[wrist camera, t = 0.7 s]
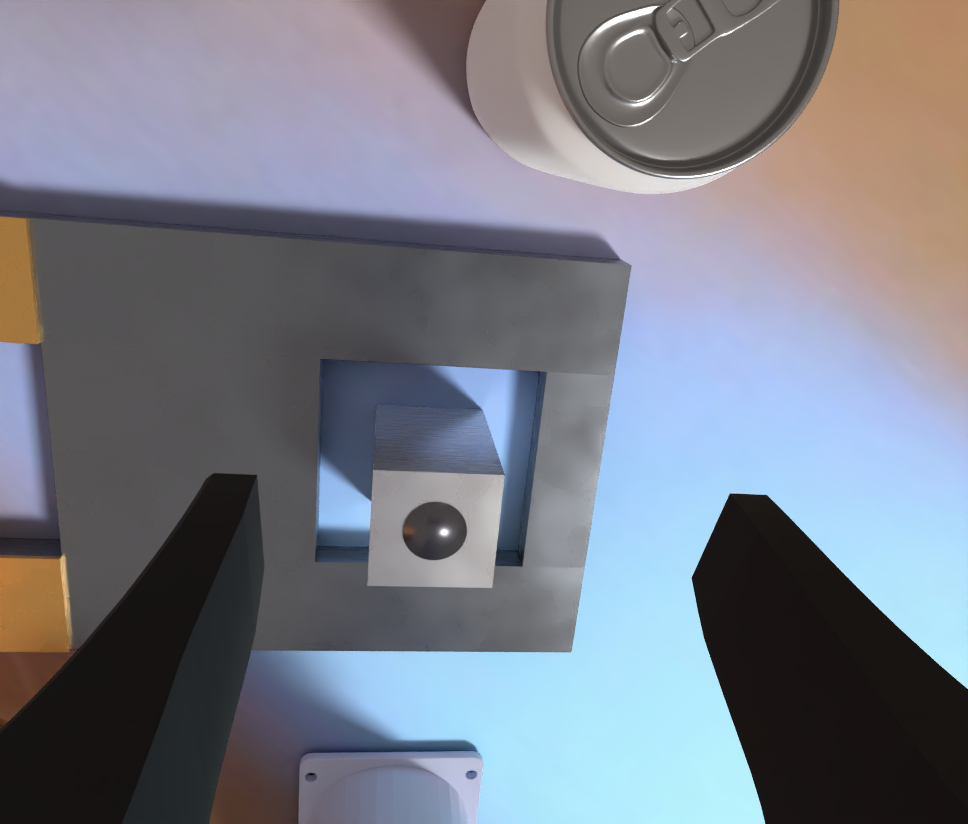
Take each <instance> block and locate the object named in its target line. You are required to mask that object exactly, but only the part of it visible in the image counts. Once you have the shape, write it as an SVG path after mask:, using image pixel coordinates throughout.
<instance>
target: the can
mask: <svg viewBox="0 0 968 824" xmlns="http://www.w3.org/2000/svg"><path fill="white" fill-rule="evenodd" d="M838 14H839V0H486V2H485V3H484V5H483V7H482V9H481V11H480V12H479V14H478V16H477V19H476V21H475V24H474V26H473V29H472V32H471V36H470V40H469V44H468V50H467V60H466V76H467V85H468V91H469V96H470V101H471V104H472V107H473V110H474V113H475V115H476V117H477V119H478V121H479V122H480V124H481V126H482V127H483V129H484V130H485V131H486V133H487V134H488V135H489V136H490V138H491V139H492V140H493V141H494V142H495V143H496V144H497V145H498V146H499V147H500V148H501V149H502V150H503V151H505V152H506V153H507V154H508V155H509V156H511V157H512V158H514V159H515V160H517V161H518V162H520V163H522V164H524V165H526V166H528V167H531V168H533V169H536V170H539V171H543V172H546V173H550V174H553V175H557V176H561V177H565V178H568V179H572V180H576V181H580V182H584V183H588V184H592V185H596V186H600V187H605V188H609V189H614V190H618V191H624V192H631V193H639V194H663V193H672V192H678V191H683V190H688V189H691V188H695V187H698V186H701V185H704V184H706V183H709V182H711V181H713V180H715V179H717V178H720V177H721V176H723V175H725V174H727V173H728V172H730V171H732V170H733V169H735V168H736V167H738V166H740V165H742V164H744V163H746V162H747V161H749V160H751V159H753V158H754V157H756V156H757V155H759V154H760V153H762V152H763V151H764V150H766V149H767V148H768V147H770V146H771V145H772V144H773V143H775V142H776V141H777V140H778V139H779V138H780V137H781V136H782V135H783V134H784V133H785V132H786V131H787V130H788V129H789V128H790V127H791V126H792V124H793V123H794V122H795V121H796V120H797V118H798V117H799V116H800V114H801V113H802V112H803V110H804V109H805V107H806V106H807V104H808V103H809V101H810V100H811V98H812V96H813V95H814V93H815V91H816V89H817V87H818V85H819V83H820V81H821V79H822V77H823V74H824V72H825V69H826V67H827V64H828V61H829V58H830V55H831V52H832V48H833V44H834V40H835V35H836V30H837V23H838Z"/></svg>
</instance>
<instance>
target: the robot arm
mask: <svg viewBox="0 0 968 824" xmlns="http://www.w3.org/2000/svg"><path fill="white" fill-rule="evenodd" d="M264 568H265V566H264V554H263V541H262V529H261V516H260V504H259V492H258V479H257V475H250V474H225V473H213V474H212V475H210V476H209V477H208V478H206V480H205V481H204V483H203V485H202V486H201V488H200V490H199V491H198V493H197V495H196V496H195V498H194V499H193V501H192V502H191V504H190V506H189V507H188V509H187V510H186V512H185V513H184V515H183V516H182V518H181V519H180V521H179V522H178V523H177V525H176V526H175V528H174V529H173V531H172V532H171V533H170V535H169V536H168V538H167V539H166V541H165V542H164V543H163V545H162V546H161V548H160V549H159V550H158V552H157V553H156V554H155V556H154V557H153V558H152V559H151V561H150V562H149V563H148V565H147V566H146V567H145V569H144V570H143V571H142V573H141V574H140V575H139V577H138V578H137V579H136V581H135V582H134V583H133V584H132V586H131V587H130V588H129V590H128V591H127V592H126V593H125V595H124V596H123V597H122V598H121V600H120V601H119V602H118V603H117V604H116V606H115V607H114V608H113V609H112V610H111V611H110V613H109V614H108V615H107V616H106V617H105V619H104V620H103V621H102V622H101V623H100V624H99V626H98V627H97V628H96V629H95V630H94V631H93V633H92V634H91V635H90V636H89V637H88V639H87V640H86V641H85V642H84V643H83V644H82V646H81V647H80V648H79V649H78V650H77V651H76V652H75V653H74V654H73V656H72V657H71V658H70V659H69V660H68V661H67V662H66V663H65V664H64V665H63V667H62V668H61V669H60V670H59V671H58V672H57V673H56V674H55V675H54V676H53V677H52V678H51V679H50V680H49V681H48V682H47V684H46V685H45V686H44V687H43V688H42V689H41V690H40V691H39V692H38V693H37V694H36V695H35V696H34V697H33V698H32V699H31V700H30V701H29V702H28V703H27V704H26V705H25V706H24V707H23V708H22V709H21V710H20V711H19V712H18V713H17V714H16V715H15V716H14V717H13V718H12V719H11V720H10V721H9V722H8V723H7V724H6V725H4V726H3V727H2V728H1V729H0V824H209V821H210V815H211V810H212V805H213V800H214V796H215V791H216V786H217V782H218V778H219V774H220V770H221V766H222V762H223V758H224V754H225V750H226V746H227V743H228V739H229V735H230V731H231V727H232V723H233V719H234V715H235V711H236V708H237V704H238V700H239V696H240V692H241V688H242V684H243V680H244V676H245V672H246V668H247V664H248V660H249V657H250V653H251V649H252V645H253V641H254V636H255V632H256V626H257V619H258V612H259V605H260V598H261V590H262V583H263V576H264ZM692 582H693V587H694V592H695V597H696V603H697V608H698V613H699V617H700V622H701V626H702V631H703V635H704V639H705V642H706V645H707V648H708V651H709V654H710V657H711V660H712V663H713V666H714V669H715V672H716V675H717V678H718V680H719V683H720V686H721V689H722V692H723V695H724V698H725V700H726V703H727V706H728V709H729V712H730V715H731V717H732V720H733V723H734V726H735V729H736V732H737V734H738V737H739V740H740V743H741V746H742V749H743V751H744V754H745V757H746V760H747V763H748V766H749V768H750V771H751V774H752V777H753V781H754V784H755V787H756V790H757V794H758V797H759V800H760V804H761V807H762V811H763V815H764V820H765V824H968V689H967V688H966V687H965V686H963V685H962V684H961V683H960V682H959V681H957V680H956V679H955V678H954V677H953V676H952V675H950V674H949V673H948V672H947V671H946V670H945V669H943V668H942V667H941V666H940V665H939V664H938V663H936V662H935V661H934V660H933V659H932V658H931V657H930V656H929V655H928V654H927V653H926V652H924V651H923V650H922V649H921V648H920V647H919V646H918V645H917V644H916V643H915V642H913V641H912V640H911V639H910V638H909V637H908V636H907V635H906V634H905V633H904V632H902V631H901V630H900V629H899V628H898V627H897V626H896V625H895V624H894V623H893V622H892V621H891V620H890V619H889V618H888V617H887V616H886V615H885V614H884V613H883V612H881V611H880V610H879V609H878V608H877V607H876V606H875V605H874V604H873V603H872V602H871V601H870V600H869V599H868V598H867V597H866V596H865V595H864V594H863V593H862V592H861V591H860V590H859V589H858V588H857V587H856V586H855V585H854V584H853V583H852V582H851V581H850V580H849V579H848V578H847V577H846V576H845V575H844V574H843V573H842V572H841V571H840V570H839V568H838V567H837V566H836V565H835V564H834V563H833V562H832V561H831V560H830V559H829V558H828V557H827V556H826V555H825V554H824V553H823V552H822V551H821V550H820V549H819V548H818V547H817V546H816V545H815V544H814V543H813V542H812V541H811V539H810V538H809V537H808V536H807V535H806V534H805V533H804V532H803V531H802V530H801V529H800V528H799V527H798V526H797V525H796V524H795V523H794V522H793V521H792V520H791V519H790V518H789V517H788V516H787V515H786V514H785V513H784V512H783V511H782V510H781V509H780V508H779V507H778V506H777V505H776V504H775V503H774V502H773V501H772V500H771V499H770V498H769V497H768V496H767V495H753V494H730V495H729V497H728V499H727V501H726V503H725V506H724V508H723V510H722V512H721V514H720V517H719V519H718V521H717V523H716V525H715V528H714V530H713V532H712V534H711V536H710V539H709V541H708V543H707V545H706V548H705V550H704V552H703V554H702V556H701V559H700V561H699V563H698V565H697V567H696V570H695V572H694V574H693V576H692ZM470 770H474V772H471V773H469V772H468V771H470ZM308 773H315V775H309V774H308ZM482 773H483V759H482V756H481V754H480V753H478V752H475V751H444V752H357V753H309V754H306V755H304V756H303V757H302V758H301V761H300V767H299V821H298V824H477V815H478V807H479V798H480V790H481V781H482Z"/></svg>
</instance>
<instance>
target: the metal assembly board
mask: <svg viewBox="0 0 968 824" xmlns="http://www.w3.org/2000/svg"><path fill="white" fill-rule="evenodd" d="M630 271H631V265H630V264H628V263H626V262H624V261H623V260H615V259H602V258H590V257H577V256H565V255H552V254H539V253H527V252H514V251H502V250H489V249H477V248H464V247H451V246H439V245H426V244H414V243H401V242H388V241H376V240H363V239H351V238H338V237H325V236H313V235H300V234H288V233H275V232H263V231H250V230H237V229H225V228H212V227H200V226H187V225H174V224H162V223H149V222H137V221H124V220H111V219H99V218H86V217H74V216H61V215H48V214H36V213H23V212H11V211H0V342H10V343H28V344H39V343H41V350H42V360H43V370H44V380H45V390H46V400H47V410H48V420H49V431H50V441H51V451H52V461H53V471H54V481H55V491H56V501H57V511H58V521H59V532H60V540H49V539H9V538H0V652H70V650H71V649H79V648H80V647H81V646H82V644H83V643H84V642H85V641H86V640H87V639H88V637H89V636H90V635H91V634H92V633H93V631H94V630H95V629H96V628H97V627H98V626H99V624H100V623H101V622H102V621H103V620H104V619H105V617H106V616H107V615H108V614H109V613H110V611H111V610H112V609H113V608H114V607H115V606H116V604H117V603H118V602H119V601H120V600H121V598H122V597H123V596H124V595H125V593H126V592H127V591H128V590H129V588H130V587H131V586H132V584H133V583H134V582H135V581H136V579H137V578H138V577H139V575H140V574H141V573H142V571H143V570H144V569H145V567H146V566H147V565H148V563H149V562H150V561H151V559H152V558H153V557H154V556H155V554H156V553H157V552H158V550H159V549H160V548H161V546H162V545H163V543H164V542H165V541H166V539H167V538H168V536H169V535H170V533H171V532H172V531H173V529H174V528H175V526H176V525H177V523H178V522H179V521H180V519H181V518H182V516H183V515H184V513H185V512H186V510H187V509H188V507H189V506H190V504H191V502H192V501H193V499H194V498H195V496H196V495H197V493H198V491H199V490H200V488H201V486H202V485H203V483H204V481H205V480H206V478H208V477H209V476H210V475H212V474H213V473H225V474H250V475H257V479H258V492H259V504H260V516H261V529H262V541H263V554H264V566H265V568H264V576H263V583H262V590H261V598H260V605H259V612H258V619H257V626H256V632H255V636H254V641H253V645H252V649H251V650H300V651H454V652H571V651H572V645H573V638H574V632H575V625H576V619H577V612H578V606H579V599H580V593H581V587H582V580H583V574H584V567H585V561H586V554H587V548H588V542H589V535H590V529H591V522H592V516H593V509H594V503H595V497H596V490H597V484H598V477H599V471H600V464H601V458H602V452H603V445H604V439H605V432H606V426H607V419H608V413H609V406H610V400H611V394H612V387H613V381H614V374H615V368H616V361H617V355H618V349H619V342H620V336H621V329H622V323H623V316H624V310H625V304H626V297H627V291H628V284H629V278H630ZM323 359H334V360H351V361H368V362H386V363H403V364H420V365H438V366H455V367H472V368H489V369H507V370H524V371H540V374H539V382H538V390H537V399H536V407H535V415H534V423H533V431H532V440H531V448H530V456H529V464H528V472H527V481H526V489H525V497H524V505H523V513H522V521H521V530H520V538H519V546H518V551H496V558H495V567H494V576H493V585H492V588H462V587H406V586H367V582H368V562H369V547H331V546H318V519H319V480H320V440H321V400H322V360H323Z"/></svg>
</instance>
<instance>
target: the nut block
mask: <svg viewBox="0 0 968 824" xmlns="http://www.w3.org/2000/svg"><path fill="white" fill-rule="evenodd" d="M504 477H505V474H504V471H503V468H502V465H501V463H500V460H499V457H498V454H497V451H496V448H495V445H494V442H493V439H492V436H491V433H490V430H489V427H488V424H487V421H486V418H485V415H484V412H483V410H477V409H457V408H437V407H417V406H398V405H378V404H376V421H375V441H374V461H373V481H372V501H371V522H370V542H369V562H368V582H367V586H406V587H462V588H492V585H493V576H494V567H495V558H496V549H497V540H498V531H499V522H500V513H501V504H502V495H503V486H504Z"/></svg>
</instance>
